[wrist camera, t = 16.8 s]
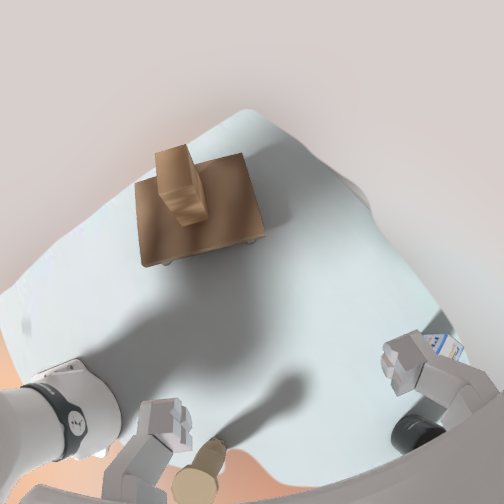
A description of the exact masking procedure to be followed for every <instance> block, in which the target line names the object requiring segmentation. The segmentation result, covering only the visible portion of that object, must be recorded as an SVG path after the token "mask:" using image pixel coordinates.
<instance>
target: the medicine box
mask: <svg viewBox="0 0 504 504" xmlns="http://www.w3.org/2000/svg"><path fill="white" fill-rule="evenodd" d="M423 337H424V338H425V339H426V341H427V342H428V343H429V344H430V346H431V347H432V348H433V350H434V351H435V352H436V354H437V355H438V356H439V355H443V356H446V357H448V358H451V359H453V360H456V361H458V359H459V357H460V355H461V353H462V351H463V349H464V346H462V345H461V344H460V343H459V342H458V341H457V340H455V339H454V338H453V337H452V336H451V335H449V334H428V335H423Z"/></svg>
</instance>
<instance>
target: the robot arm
mask: <svg viewBox="0 0 504 504" xmlns="http://www.w3.org/2000/svg"><path fill="white" fill-rule="evenodd" d="M383 351H384V354H383V355H382V356H381V366H382V370H383V372H384V374H385V376H386V377H388V378H390V379H392V380H391V386H392V388H393V390H394V392H395V394H396V395H397V397H398V396H400V395H402V394H405V393H407V392H409V391H411V390H413V389H415V390H416V391H418V392H419V393H421V394H423V395H424V396H426V397H428V398H429V399H431V400H433V401H435V402H436V403H438V404H440V405H441V406H443V407H445V408H447V411H446V412H445V414H444V415H443V417H442V419H441V422H442V424H443V426H444V428H445V430H446V431H447V432H445V433H443V434H442V435H440V436H438V437H437V438H435V439H433V440H431V441H430V442H428V443H426V444H424V445H422V446H421V447H419V448H417V449H415V450H413V451H411V452H409V453H407V454H405V455H403V456H401V457H399V458H397V459H395V460H392V461H390V462H388V463H386V464H383V465H381V466H379V467H376V468H374V469H371V470H369V471H366V472H364V473H361V474H358V475H356V476H353V477H350V478H347V479H344V480H341V481H338V482H335V483H332V484H329V485H325V486H322V487H318V488H315V489H311V490H307V491H304V492H299V493H295V494H290V495H285V496H281V497H275V498H270V499H264V500H258V501H251V502H243V503H235V504H504V390H503V391H502V392H501V393H500V392H499V391H498V389H497V388H496V387H495V385H494V384H493V382H492V381H491V380H490V378H489V377H488V376H487V374H486V373H485V372H484V371H481V370H479V369H476V368H474V367H471V366H469V365H466V364H464V363H461V362H458V361H456V360H453V359H451V358H448V357H446V356H443V355H439V356H438V355H437V354H436V352H435V351H434V350H433V348H432V347H431V346H430V344H429V343H428V342H427V341H426V339H425V338H424V337H423V335H422V334H421V333H420V332H419V331H418V330H414V331H412V332H409V333H407V334H404V335H402V336H400V337H397V338H395V339H393V340H391V341H388V342H386V343H384V345H383ZM72 366H73V369H72ZM181 405H182V402H181V401H180V399H179V398H170V399H160V400H148V401H142V403H141V405H140V411H139V418H138V426H137V435H133V436H132V438H131V439H130V440H129V442H128V443H127V444H126V445H125V447H124V448H123V449H122V450H121V452H120V453H119V454H118V455H117V457H116V458H115V459H114V460H113V462H112V463H111V464H110V465H109V466H108V468H107V469H106V470H105V471H104V478H103V486H102V497H101V499H100V498H94V497H89V496H85V495H80V494H76V493H72V492H68V491H64V490H61V489H57V488H54V487H50V486H47V485H44V484H38V485H36V486H35V487H33V488H32V489H31V490H30V491H29V492H28V493H27V494H26V495H25V496H24V497H23V498H22V499H21V501H20V502H19V504H167V494H166V492H165V491H163V490H161V489H159V488H157V487H155V485H156V483H157V481H158V480H159V478H160V476H161V475H162V473H163V471H164V470H165V468H166V466H167V464H168V463H169V461H170V459H171V457H172V456H173V454H174V453H173V452H185V451H192V436H191V435H190V434H189V431H190V430H191V428H192V420H191V415H190V413H189V411H188V409H187V408H186V407H184V406H181ZM120 430H121V413H120V409H119V406H118V403H117V401H116V399H115V397H114V395H113V394H112V392H111V391H110V389H109V388H108V387H107V386H106V384H105V383H104V382H103V381H101V380H100V379H99V378H98V377H96V376H95V375H93V374H92V373H90V372H89V371H88V370H87V368H86V367H85V366H84V364H83V363H82V362H81V361H80V360H79V359H74V360H71V361H69V362H66V363H64V364H61V365H59V366H56V367H54V368H51V369H49V370H46V371H44V372H41V373H39V374H36V375H34V376H32V378H31V383H29V384H26V385H23V386H21V387H20V388H15V389H2V390H0V504H5V503H6V501H7V499H8V497H9V495H10V493H11V491H12V490H13V488H14V486H15V485H16V484H17V483H18V481H19V480H20V479H21V478H22V477H24V476H25V475H26V474H28V473H29V472H31V471H33V470H35V469H37V468H39V467H41V466H43V465H45V464H47V463H49V462H58V461H62V460H65V459H68V458H69V457H71V458H74V459H76V460H81V459H84V458H86V457H89V456H91V455H94V456H97V457H101V458H102V457H105V456H107V454H108V450H109V446H110V445H111V444H112V443H113V442H114V441H115V440H116V439H117V437H118V436H119V433H120Z"/></svg>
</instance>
